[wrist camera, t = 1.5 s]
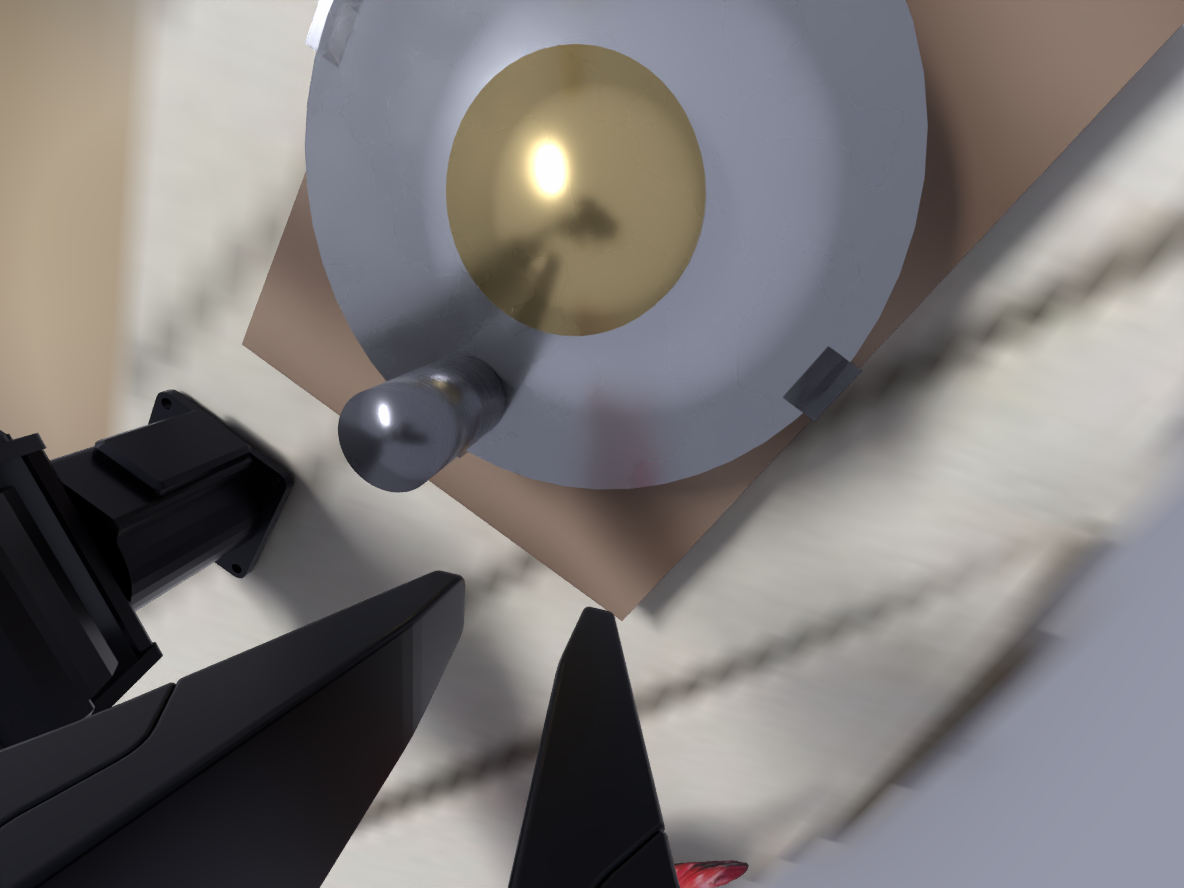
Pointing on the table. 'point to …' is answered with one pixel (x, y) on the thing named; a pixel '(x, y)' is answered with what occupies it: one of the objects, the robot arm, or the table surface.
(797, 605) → the table surface
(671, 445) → the notched round platform
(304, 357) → the base plate
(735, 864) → the decorative bird figurine
